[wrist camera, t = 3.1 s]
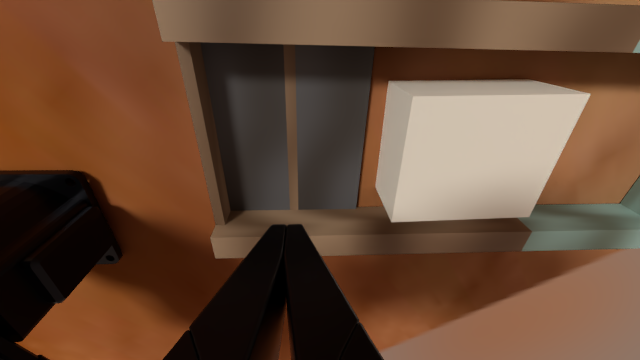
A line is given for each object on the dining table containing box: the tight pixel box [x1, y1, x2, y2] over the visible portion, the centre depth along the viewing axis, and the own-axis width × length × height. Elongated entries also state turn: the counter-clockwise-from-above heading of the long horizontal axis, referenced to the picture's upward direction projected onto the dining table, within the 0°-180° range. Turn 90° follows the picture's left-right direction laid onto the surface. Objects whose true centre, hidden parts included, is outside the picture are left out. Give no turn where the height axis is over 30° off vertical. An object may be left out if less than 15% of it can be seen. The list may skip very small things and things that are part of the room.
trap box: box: [152, 0, 640, 258], centre depth 13 cm, size 26×12×2 cm, turn 89°
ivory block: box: [376, 79, 591, 222], centre depth 13 cm, size 7×6×4 cm
